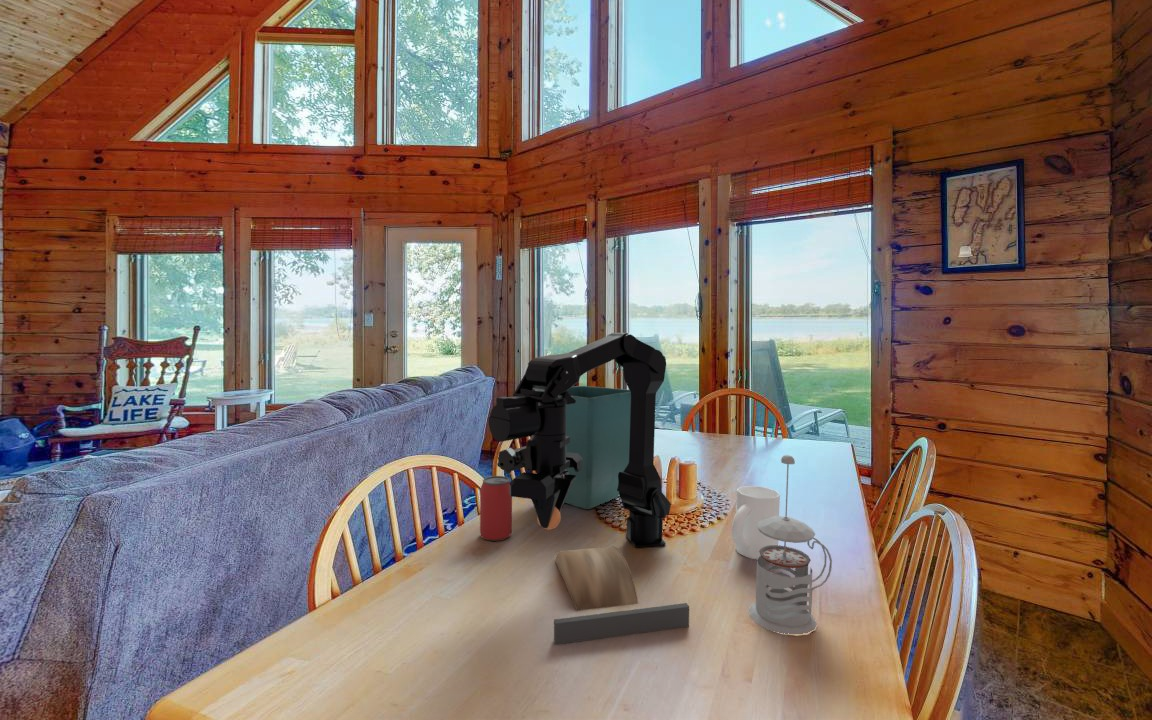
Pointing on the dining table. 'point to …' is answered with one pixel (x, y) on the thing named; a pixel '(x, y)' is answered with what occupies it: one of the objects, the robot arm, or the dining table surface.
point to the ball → (553, 519)
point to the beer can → (495, 508)
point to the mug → (753, 519)
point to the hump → (597, 577)
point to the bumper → (620, 623)
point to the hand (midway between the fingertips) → (549, 522)
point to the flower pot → (597, 442)
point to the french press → (785, 575)
